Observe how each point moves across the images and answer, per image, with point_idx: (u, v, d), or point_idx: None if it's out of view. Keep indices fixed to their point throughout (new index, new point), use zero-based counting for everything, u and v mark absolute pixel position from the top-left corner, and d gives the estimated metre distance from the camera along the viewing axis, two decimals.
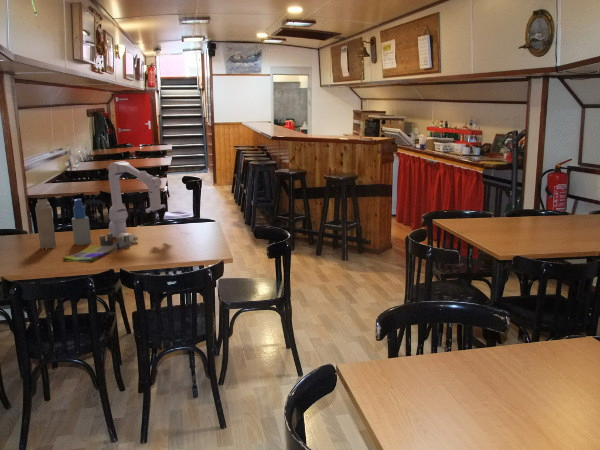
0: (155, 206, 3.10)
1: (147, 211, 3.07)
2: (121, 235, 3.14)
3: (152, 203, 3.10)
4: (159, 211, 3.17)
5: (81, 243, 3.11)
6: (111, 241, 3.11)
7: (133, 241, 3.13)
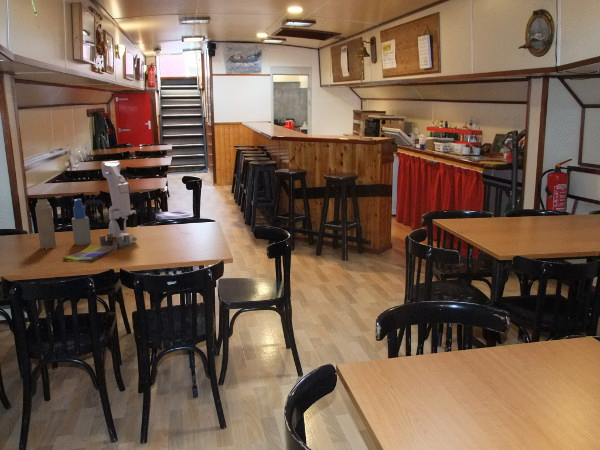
0: (125, 212, 3.09)
1: (116, 217, 3.05)
2: (120, 236, 3.13)
3: (121, 209, 3.08)
4: (129, 217, 3.16)
5: (81, 243, 3.11)
6: (111, 241, 3.11)
7: (133, 241, 3.12)
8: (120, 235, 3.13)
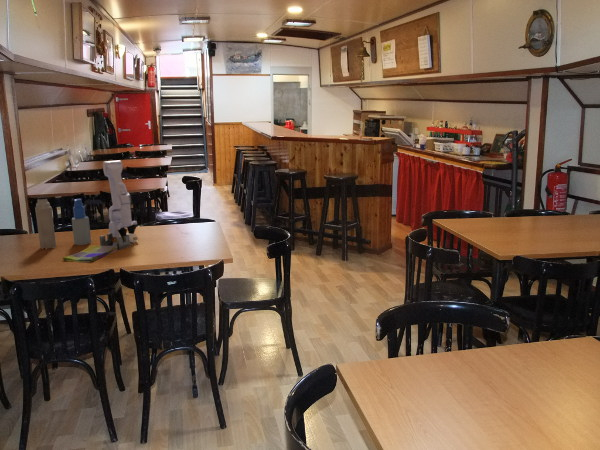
0: (126, 223, 3.10)
1: (117, 228, 3.07)
2: None
3: (122, 220, 3.10)
4: (129, 228, 3.16)
5: (81, 243, 3.11)
6: (111, 241, 3.11)
7: (133, 241, 3.13)
8: None
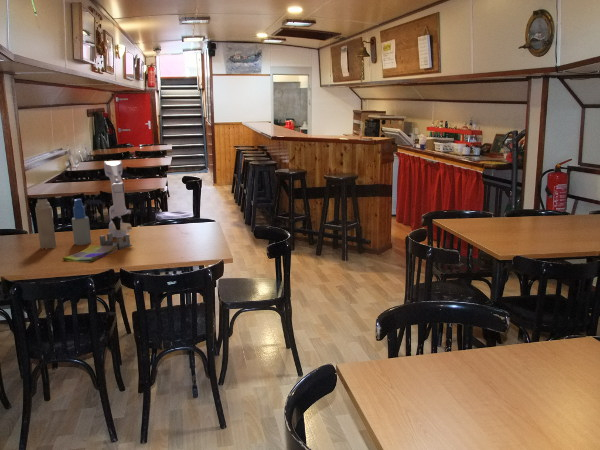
0: (119, 212, 3.05)
1: (111, 217, 3.02)
2: None
3: (116, 209, 3.05)
4: (123, 217, 3.11)
5: (81, 243, 3.11)
6: (111, 241, 3.11)
7: (127, 230, 3.08)
8: None
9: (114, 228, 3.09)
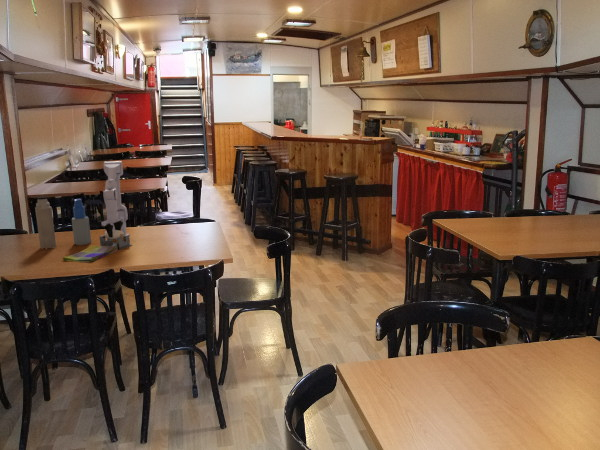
0: (112, 219, 3.00)
1: (103, 224, 2.97)
2: None
3: (108, 216, 3.00)
4: (115, 224, 3.07)
5: (81, 243, 3.11)
6: (111, 241, 3.11)
7: None
8: None
9: (106, 235, 3.04)
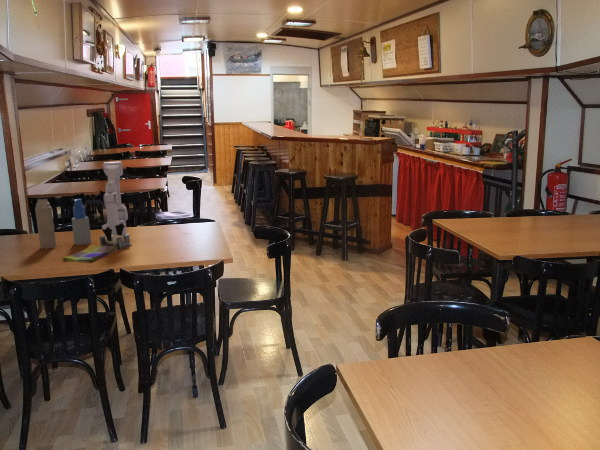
0: (112, 222, 3.01)
1: (103, 228, 2.97)
2: None
3: (109, 219, 3.00)
4: (117, 227, 3.08)
5: (81, 243, 3.11)
6: None
7: None
8: None
9: (107, 241, 3.05)
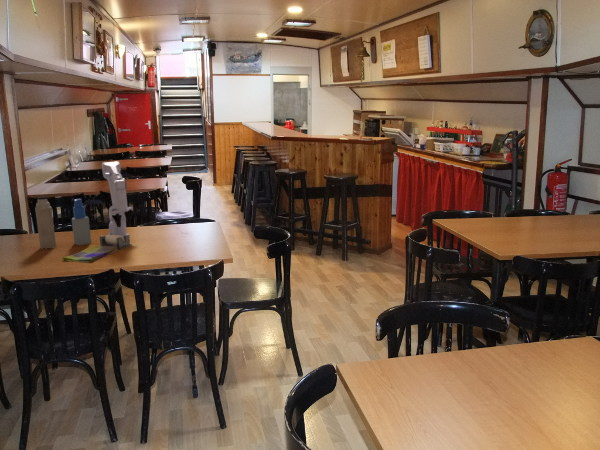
0: (121, 208, 3.09)
1: (113, 213, 3.06)
2: (108, 237, 3.05)
3: (118, 205, 3.09)
4: (126, 213, 3.16)
5: (81, 243, 3.11)
6: None
7: None
8: (108, 236, 3.05)
9: (107, 241, 3.05)
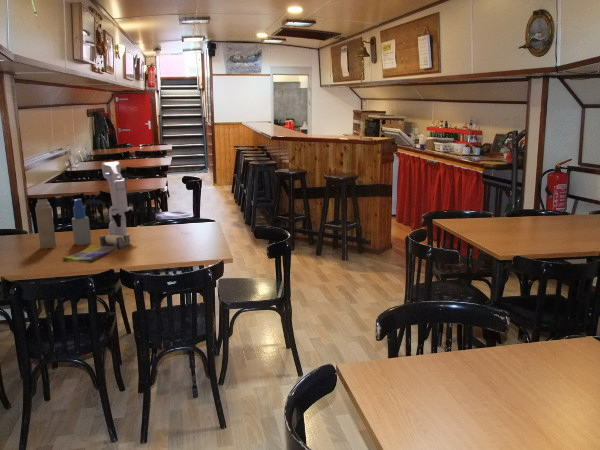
0: (121, 208, 3.09)
1: (113, 213, 3.06)
2: (108, 236, 3.05)
3: (118, 205, 3.09)
4: (126, 213, 3.16)
5: (81, 243, 3.11)
6: None
7: None
8: (108, 235, 3.05)
9: (107, 240, 3.05)
